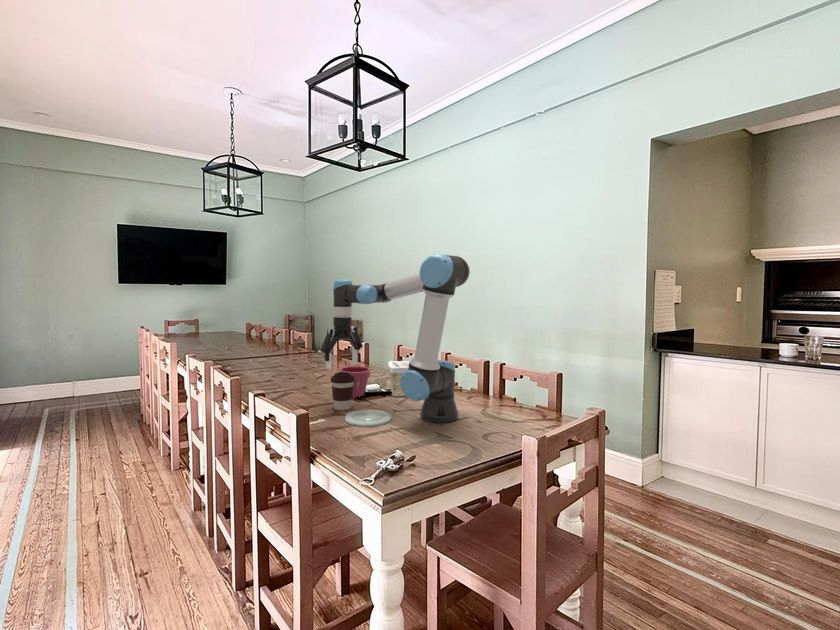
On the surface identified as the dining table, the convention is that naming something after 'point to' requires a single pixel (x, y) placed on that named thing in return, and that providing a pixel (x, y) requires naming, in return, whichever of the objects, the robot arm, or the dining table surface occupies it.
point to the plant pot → (358, 379)
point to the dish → (368, 418)
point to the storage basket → (397, 376)
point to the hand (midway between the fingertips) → (342, 366)
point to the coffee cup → (342, 390)
